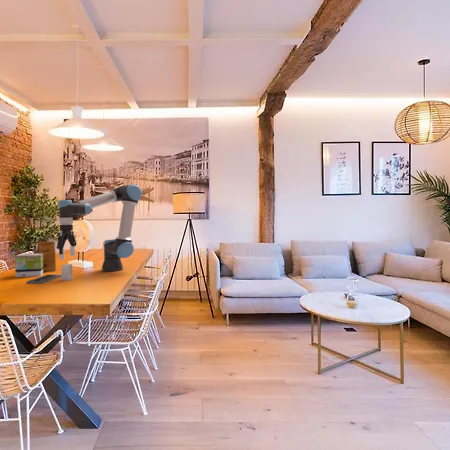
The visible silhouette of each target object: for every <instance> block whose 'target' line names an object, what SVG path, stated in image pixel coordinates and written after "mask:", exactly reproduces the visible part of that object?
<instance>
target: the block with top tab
mask: <svg viewBox="0 0 450 450" xmlns="http://www.w3.org/2000/svg"><path fill="white" fill-rule="evenodd" d="M61 275H62V277H59V279H60V280H61V281H62V282H63V281H64V282H66V281H67V282H69V281H72V280H73V279H74V277H73V264H72V263H71V264H68V263H65V264H62V265H61Z"/></svg>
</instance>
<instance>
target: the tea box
mask: <svg viewBox="0 0 450 450" xmlns="http://www.w3.org/2000/svg"><path fill="white" fill-rule="evenodd" d="M14 257H15V265H14V266H15V269H14V270H15V271H14V273H15V278H24V277H25V278H26V277H29V278H30V277H42V276H43V274H44V272H43V254H37V253H19V254H17V255H15V256H14Z"/></svg>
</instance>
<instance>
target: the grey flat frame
mask: <svg viewBox="0 0 450 450" xmlns="http://www.w3.org/2000/svg"><path fill="white" fill-rule="evenodd" d="M60 278H62V274H45V275H41V276H38V277H36V278H33V279H30V280H28V281H26V284H31V285H34V284H35V285H36V284H37V285H38V284H39V285H41V284H42V285H44V284H46V283H48V282H51V281H52V282H53V281H55V280H56V279H57V280H58V279H60Z"/></svg>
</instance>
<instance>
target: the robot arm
mask: <svg viewBox="0 0 450 450" xmlns="http://www.w3.org/2000/svg"><path fill="white" fill-rule="evenodd" d="M142 196H143V191H142V189H141V187H140V186H139V185H137V184H125V185H120V186H118V187H115V188H113V189H110V190H109V191H108V192H104V193H102V194H97V195H95V196H92V197H88V198H84V199H82V200H79V201H76V202H75V201H74V202H73V201H72V199H60V200H59V201H58V215H59V216H58V217H59V219H58V221H59V231H60V232H58V240H57V244H56V249H57V250H58V257H59V260H65V248H64V247H65V244H66V241H68V243H69V244H70V246H69V255H70V257H75V256H76V249H75V248H76V246H77V241H76V236H75V232H74V225H73V223H74V219H73V216H76V215H77V216H80V215H83V216H84V215H90V214H91V213H92V209H94V208H97V207H100V206H104V205H106V204H109V203H117V202H121V203H122V204H123V205H122V211H121V216H120V224H119V229H118V235H117V237H115V239H105V240H104V243H103V257H104V258H103V263H102V265H101V271H103V272H118V271H122V270H124V265H123V262H122V259H128V258H130V257H131V256H132V255H133V253H134V251H135V250H134V249H135V247H134V245H133V243H132V242H133V240H132V237H131V236H132V228H133V224H134V223H133V222H134V216H135V209H136V206H137V205H138V204H139V200H141V198H142Z"/></svg>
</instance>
